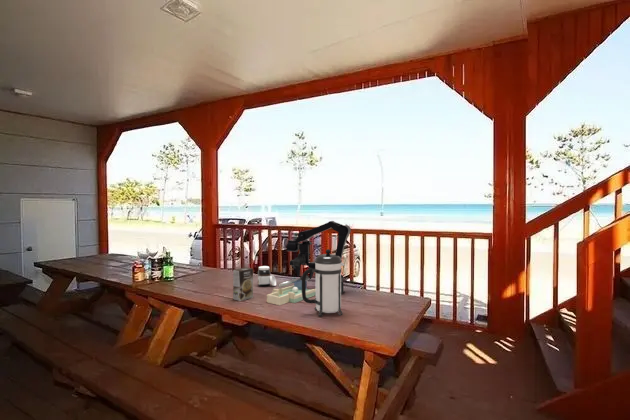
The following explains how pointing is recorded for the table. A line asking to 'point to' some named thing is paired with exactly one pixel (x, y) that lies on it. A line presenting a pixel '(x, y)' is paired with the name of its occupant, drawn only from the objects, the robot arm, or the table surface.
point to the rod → (295, 282)
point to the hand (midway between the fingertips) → (304, 278)
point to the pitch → (288, 295)
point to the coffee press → (326, 284)
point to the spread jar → (265, 277)
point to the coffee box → (242, 284)
